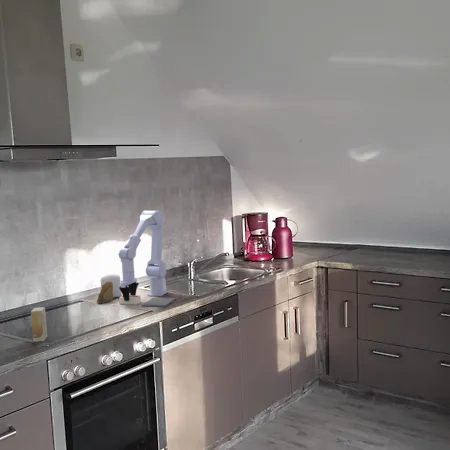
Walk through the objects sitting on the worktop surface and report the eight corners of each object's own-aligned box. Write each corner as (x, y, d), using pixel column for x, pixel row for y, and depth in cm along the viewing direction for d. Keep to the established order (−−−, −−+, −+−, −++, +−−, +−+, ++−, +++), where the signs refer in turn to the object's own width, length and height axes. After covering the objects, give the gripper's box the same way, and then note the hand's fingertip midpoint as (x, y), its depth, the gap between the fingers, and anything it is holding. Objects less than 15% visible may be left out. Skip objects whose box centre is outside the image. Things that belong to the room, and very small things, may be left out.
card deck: (124, 302, 284) (124, 294, 284) (140, 302, 281) (140, 295, 281) (119, 304, 279) (119, 297, 279) (136, 304, 276) (135, 297, 276)
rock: (99, 300, 278) (118, 294, 283) (92, 285, 281) (111, 280, 286) (95, 310, 286) (113, 304, 291) (89, 295, 289) (107, 289, 295)
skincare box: (36, 337, 226) (34, 307, 225) (47, 336, 226) (45, 306, 225) (32, 342, 220) (30, 311, 219) (44, 341, 220) (41, 310, 219)
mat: (152, 299, 285) (152, 298, 285) (175, 300, 282) (175, 298, 282) (141, 306, 271) (141, 304, 271) (165, 306, 268) (165, 305, 268)
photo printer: (102, 299, 290) (100, 275, 289) (100, 298, 294) (99, 274, 293) (122, 296, 294) (120, 273, 293) (120, 295, 298) (119, 272, 297)
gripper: (126, 269, 287) (128, 295, 288) (114, 274, 273) (116, 302, 274) (139, 269, 285) (141, 295, 286) (128, 274, 271) (129, 302, 272)
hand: (130, 299), depth 280 cm, fingers open, 7 cm apart
